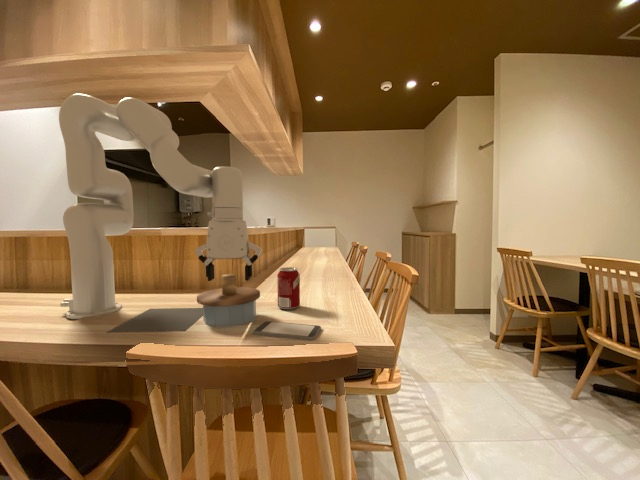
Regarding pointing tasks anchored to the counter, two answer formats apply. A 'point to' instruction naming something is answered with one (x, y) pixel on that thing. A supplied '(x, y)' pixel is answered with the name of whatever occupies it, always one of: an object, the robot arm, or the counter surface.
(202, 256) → the robot arm
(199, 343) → the counter surface
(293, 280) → the soda can
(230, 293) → the lid
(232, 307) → the bowl
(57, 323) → the counter surface
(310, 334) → the smartphone
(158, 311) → the mat
